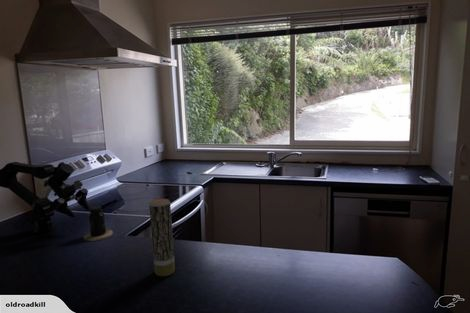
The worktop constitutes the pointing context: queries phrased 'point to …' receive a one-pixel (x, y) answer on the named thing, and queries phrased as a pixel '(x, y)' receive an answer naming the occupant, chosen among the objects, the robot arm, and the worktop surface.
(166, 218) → the pale patterned cylinder
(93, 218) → the supplement bottle
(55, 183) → the robot arm
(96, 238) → the cork trivet
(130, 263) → the worktop surface
